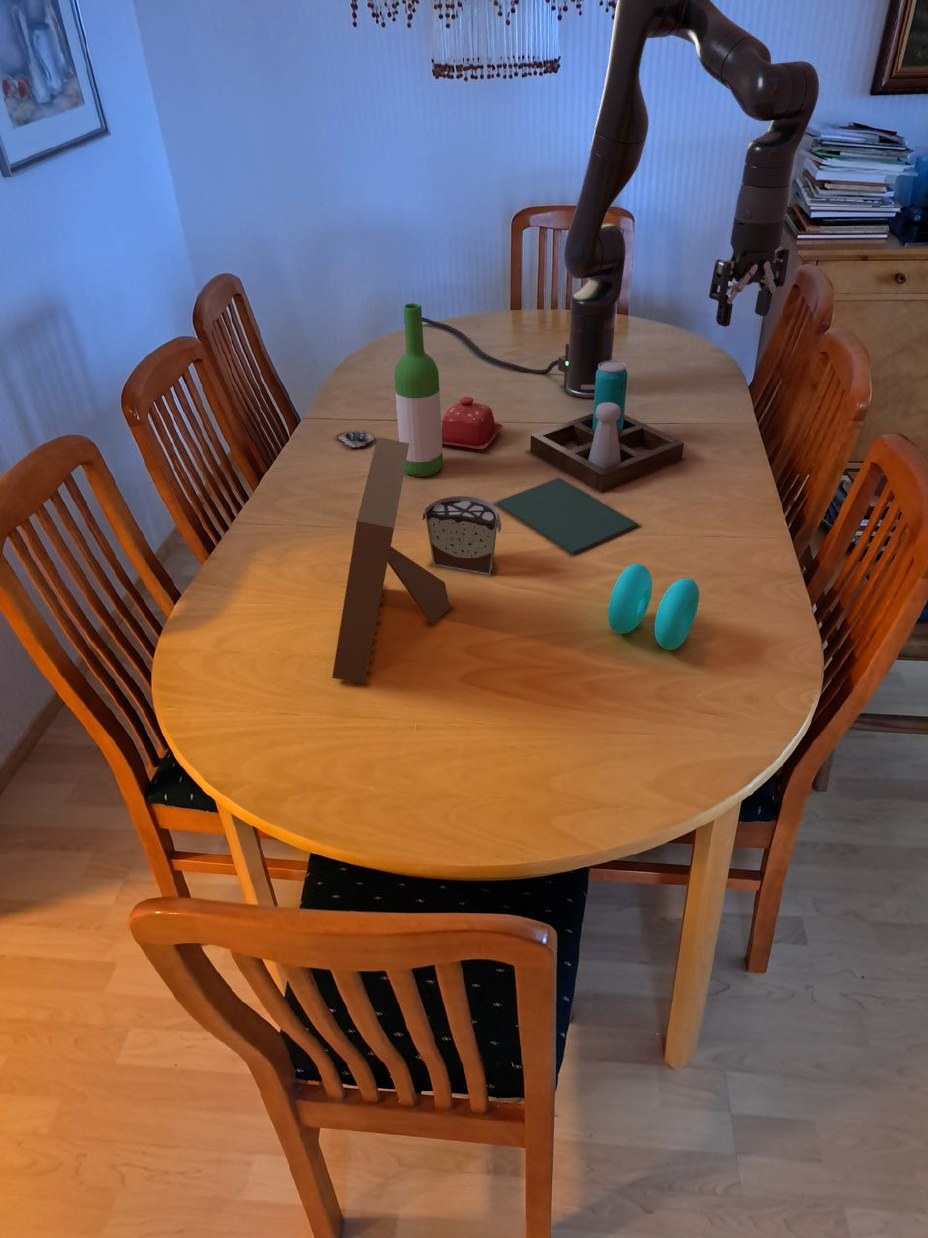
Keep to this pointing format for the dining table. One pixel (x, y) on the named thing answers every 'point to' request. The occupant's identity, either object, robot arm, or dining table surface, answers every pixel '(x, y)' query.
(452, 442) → the butter dish
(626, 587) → the donuts
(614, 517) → the placemat
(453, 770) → the dining table surface
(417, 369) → the wine bottle
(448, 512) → the food container
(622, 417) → the beverage can
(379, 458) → the photo frame
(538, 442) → the stand
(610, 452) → the salt shaker
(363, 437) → the blueberries
